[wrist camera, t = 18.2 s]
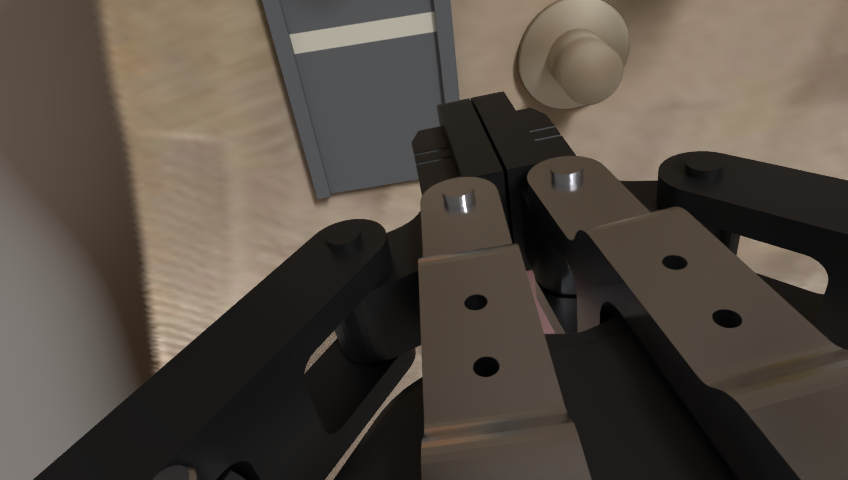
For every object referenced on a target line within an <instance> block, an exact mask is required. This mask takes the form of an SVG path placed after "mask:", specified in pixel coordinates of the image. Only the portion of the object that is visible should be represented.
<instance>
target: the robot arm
mask: <svg viewBox="0 0 848 480" xmlns="http://www.w3.org/2000/svg"><path fill="white" fill-rule="evenodd" d="M437 111H438V118H439V124H440V126H439V127H434V128H429V129H424V130H419V131H418V132H417V134H416V136H415V137H414V139H413V141H412V142H411V143H412V148H413V153H414V158H415V163H416V168H417V173H418V178H419V183H420V188H421V193H422V198H421V202H420V205H421V211H420V212H419V214H418V215H417V216H416V217H415V218H414V219H413V220H411V221H410V222H409V223H407V224H405V225H404V226H402V227H399V228H397V229H395V230H393V231H390V232H388V233H386V231H385V229H384V228H383V226H381V225H380V224H379V223H377V222H375V221H371V220H366V219H352V220H346V221H342V222H338V223H335V224H332V225H330V226H328V227H326V228H324V229H323V230H321V231H319V232H318V233H317V234H315V235H314V236H313V237H312V238H311V239H310V240H308V241H307V242H306V243H305V244H304V245H303V246H302V247H300V248H299V249H298V250H297V251H296V252H295V253H294V254H292V255H291V256H290V257H289V258H288V259H287V260H285V261H284V262H283V263H282V264H281V265H280V266H279V267H277V268H276V269H275V270H274V271H273V272H272V273H270V274H269V275H268V276H267V277H266V278H265V279H264V280H262V281H261V282H260V283H259V284H258V285H257V286H256V287H254V288H253V289H252V290H251V291H250V292H249V293H247V294H246V295H245V296H244V297H243V298H242V299H241V300H239V301H238V302H237V303H236V304H235V305H234V306H232V307H231V308H230V309H229V310H228V311H227V312H226V313H224V314H223V315H222V316H221V317H220V318H219V319H218V320H216V321H215V322H214V323H213V324H212V325H211V326H209V327H208V328H207V329H206V330H205V331H204V332H203V333H201V334H200V335H199V336H198V337H197V338H196V339H194V340H193V341H192V342H191V343H190V344H189V345H188V346H186V347H185V348H184V349H183V350H182V351H181V352H180V353H178V354H177V355H176V356H175V357H174V358H173V359H171V360H170V361H169V362H168V363H167V364H166V365H165V366H163V367H162V368H161V369H160V370H159V371H158V372H156V373H155V374H154V375H153V376H152V377H151V378H150V379H148V380H147V381H146V382H145V383H144V384H143V385H142V386H140V387H139V388H138V389H137V390H136V391H135V392H133V394H131V395H130V396H129V397H128V398H127V399H125V400H124V401H123V402H122V403H121V404H120V405H119V406H117V407H116V408H115V409H114V410H113V411H112V412H110V413H109V414H108V415H107V416H106V417H105V418H104V419H103V420H101V421H100V422H99V423H98V424H97V425H95V426H94V427H93V428H92V429H91V430H90V431H89V432H87V433H86V434H85V435H84V436H83V437H82V438H81V439H79V440H78V441H77V442H76V443H75V444H74V445H72V446H71V447H70V448H69V449H68V450H67V451H66V452H64V453H63V454H62V455H61V456H60V457H59V458H57V460H55V461H54V462H53V463H52V464H51V465H49V466H48V467H47V468H46V469H45V470H44V471H42V472H41V473H40V474H39V475H38V476H37V477H36V478H34V479H33V480H325V479H326V477H327V476H328V475H329V473H330V472H331V471H332V469H333V468H334V467H335V466H336V464H337V463H338V462H339V460H340V459H341V458H342V456H343V455H344V454H345V452H346V451H347V450H348V448H349V447H350V446H351V444H352V443H353V442H354V441H355V439H356V438H357V437H358V435H359V434H360V433H361V431H362V430H363V429H364V427H365V426H366V425H367V423H368V422H369V421H370V419H371V418H372V417H373V416H374V414H375V413H376V412H377V410H378V409H379V408H380V406H381V405H382V404H383V402H384V401H385V400H386V398H387V397H388V396H389V394H390V393H391V392H392V390H393V389H394V388H395V387H396V385H397V384H398V383H399V381H400V380H401V379H402V377H403V376H404V375H405V373H406V372H407V371H408V369H409V368H410V367H411V365H412V364H413V361H414V359H415V354H416V351H415V347H418V346H420V345H421V351H422V376H423V377H422V378H420V379H418V380H417V381H415V382H414V383H413V384H411V385H410V386H408V387H407V388H405V389H404V390H403V391H402V392H401V393H400V394H398V395H397V396H396V397H395V398H394V399H393V400H392V401H391V402H390V403H389V404H388V405H387V406H386V407H385V408H384V410H383V411H382V412H381V413H380V414H379V416H378V417H377V418H376V420H375V421H374V423H373V424H372V425H371V427H370V428H369V430H368V431H367V433H366V434H365V435H364V437H363V438H362V440H361V441H360V443H359V444H358V445H357V447H356V448H355V450H354V451H353V453H352V454H351V455H350V457H349V458H348V460H347V461H346V463H345V464H344V465H343V467H342V468H341V470H340V471H339V473H338V474H337V475H336V477H335V478H334V480H848V181H847V180H843V179H838V178H834V177H829V176H824V175H820V174H815V173H810V172H806V171H801V170H797V169H792V168H787V167H783V166H778V165H773V164H769V163H764V162H760V161H755V160H750V159H746V158H741V157H736V156H732V155H727V154H722V153H717V152H708V151H696V152H687V153H682V154H678V155H675V156H672V157H670V158H668V159H666V160H665V161H664V162H663V163H662V164H661V165H660V167H659V171H658V181H619V180H618V179H617V178H616V177H615V176H614V175H613V174H612V173H611V172H610V171H609V170H608V169H607V168H606V167H605V166H604V165H603V164H601V163H600V162H598V161H596V160H594V159H591V158H587V157H581V156H576V155H575V153H574V152H573V151H572V149H571V148H570V146H569V145H568V144H567V142H566V141H565V140H564V138H563V137H562V136H560V133H559V132H558V130H557V129H556V127H554V125H553V123H552V122H551V121H550V119H549V118H548V117H547V115H545V114H543V113H541V112H539V111H537V110H534V109H532V108H527V109H522V110H517V111H516V110H515V109H514V107H513V105H512V104H511V102H510V101H509V99H508V97H507V96H506V94H505V93H504V92H498V93H493V94H488V95H483V96H478V97H473V98H471V101H470V99H464V100H459V101H454V102H449V103H444V104H439V105H437ZM740 235H741V236H744V237H747V238H751V239H754V240H757V241H761V242H764V243H767V244H771V245H774V246H777V247H781V248H784V249H787V250H791V251H794V252H797V253H801V254H804V255H807V256H810V257H812V258H813V259H815V260H817V261H818V262H819V263H820V264H821V265H822V266H823V267H824V268H825V270H826V272H827V274H828V285H827V288H826V291H825V294H817V293H814V292H811V291H808V290H805V289H802V288H799V287H796V286H793V285H790V284H787V283H784V282H781V281H778V280H775V279H772V278H769V277H766V276H763V275H760V274H757V273H755V272H754V271H752V270H751V269H750V268H749V267H748V266H747V265H746V264H745V263H744V262H743V261H741V260H740V259H739V258H738V257H737V256H736V255H737V249H738V244H739V238H740ZM529 270H532V271H533V273H534V276H535V290H536V298H537V300H538V302H539V304H540V306H541V308H542V310H543V312H544V314H545V315H546V317H547V319H548V321H549V323H550V325H551V326H552V328H553V330H554V332H555V334H544V331H543V328H542V325H541V321H540V318H539V314H538V311H537V307H536V304H535V300H534V297H533V293H532V290H531V286H530V283H529V279H528V276H527V272H526V271H529ZM334 330H335V333H336V335H337V339H336V340H335V341H334V342H333V343H332V345H331V346H330V347H329V348H328V349H327V350H326V351H325V352H324V353H323V354H322V355H321V357H320V358H319V359H318V360H317V361H316V362H315V363H314V364H313V365H312V366H311V367H310V369H309V370H308V371H307V372H306V373H305V374H304V372H305V368H306V365H307V362H308V360H309V358H310V357H311V355H312V354H313V353H314V352H315V350H316V349H317V348H318V347H319V346H320V345H321V344H322V343H323V342H324V341H325V340H326V339H327V338H328V337H329V335H330V334H331V333H332V332H333V331H334Z"/></svg>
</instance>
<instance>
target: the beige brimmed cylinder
mask: <svg viewBox="0 0 848 480" xmlns="http://www.w3.org/2000/svg"><path fill="white" fill-rule="evenodd" d="M628 53H629V34H628V30H627V26H626V24H625V22H624V20H623V18H622V17H621V15H620V14H619V13H618V12H617V11H616V10H615V9H614V8H613V7H612V6H610V5H609V4H607V3H606V2H604V1H602V0H558V1H556V2H554V3H553V4H551V5H549V6H548V7H546V8H545V9H544V10H542V11H541V12H540V13H539V14H538V15H537V16H536V17H535V18H534V19H533V20H532V22H531V23H530V25H529V26H528V27H527V29H526V31H525V33H524V35H523V37H522V40H521V43H520V46H519V51H518V70H519V74H520V77H521V80H522V82H523V84H524V85H525V87H526V89H527V90H528V91H529V93H530V94H531V95H532V96H533V97H534V98H535V99H536V100H537V101H539V102H540V103H542V104H544V105H546V106H549V107H552V108H557V109H572V108H577V107H581V106H584V105H593V104H597V103H600V102H602V101H604V100H605V99H607V98H608V97H609V96H611V95H612V94H613V93H614V91H615V90H616V89H617V87H618V86H619V84H620V82H621V79H622V76H623V69H624V66H625V64H626V61H627V58H628Z"/></svg>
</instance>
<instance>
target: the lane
mask: <svg viewBox="0 0 848 480" xmlns="http://www.w3.org/2000/svg"><path fill="white" fill-rule="evenodd" d="M262 3H263V6H264V10H265V13H266V17H267V21H268V24H269V28H270V31H271V35H272V38H273V42H274V46H275V49H276V53H277V56H278V60H279V63H280V67H281V71H282V74H283V78H284V81H285V85H286V88H287V92H288V96H289V99H290V103H291V106H292V110H293V113H294V117H295V121H296V124H297V128H298V131H299V135H300V138H301V142H302V146H303V149H304V153H305V156H306V160H307V163H308V167H309V170H310V174H311V178H312V181H313V185H314V188H315V192H316V195H317V199H322V198H328V197H331V194H332V193H338V192H344V191H350V190H356V189H363V188H369V187H375V186H381V185H387V184H394V183H400V182H406V181H412V180H418V179H419V178H418V173H417V168H416V163H415V158H414V153H413V148H412V143H411V142H412V141H413V139H414V137H415V136H416V134H417V132H418V131H419V130H424V129H429V128H434V127H439V126H440V124H439V118H438V111H437V105H439V104H444V103H449V102H454V101H459V89H458V79H457V68H456V57H455V46H454V36H453V25H452V14H451V3H450V0H262Z"/></svg>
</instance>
